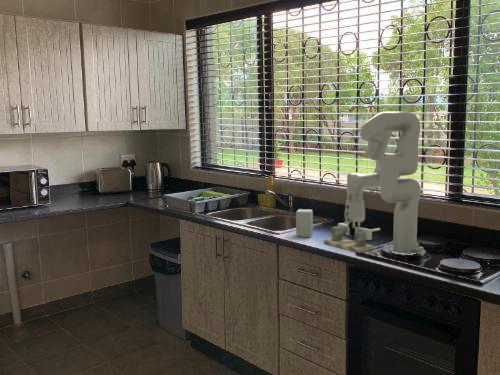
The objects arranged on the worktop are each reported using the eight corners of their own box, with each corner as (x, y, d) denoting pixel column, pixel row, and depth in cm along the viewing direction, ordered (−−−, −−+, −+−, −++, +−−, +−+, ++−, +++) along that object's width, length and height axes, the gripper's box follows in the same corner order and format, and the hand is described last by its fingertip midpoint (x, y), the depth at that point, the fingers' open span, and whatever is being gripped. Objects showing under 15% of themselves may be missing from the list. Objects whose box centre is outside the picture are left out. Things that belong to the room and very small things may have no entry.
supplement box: (313, 234, 249) (313, 209, 248) (310, 237, 242) (311, 211, 241) (298, 233, 251) (298, 208, 250) (295, 236, 244) (295, 211, 243)
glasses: (380, 237, 241) (380, 227, 240) (367, 240, 235) (368, 230, 235) (349, 230, 257) (349, 221, 256) (337, 233, 252) (337, 223, 251)
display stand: (373, 249, 219) (374, 232, 218) (358, 252, 214) (358, 235, 213) (339, 240, 236) (339, 224, 235) (323, 243, 230) (323, 227, 229)
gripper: (349, 200, 234) (348, 239, 237) (371, 197, 244) (371, 234, 246) (337, 198, 240) (337, 236, 243) (360, 195, 250) (359, 231, 252)
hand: (354, 234), depth 244 cm, fingers closed on glasses, 2 cm apart
